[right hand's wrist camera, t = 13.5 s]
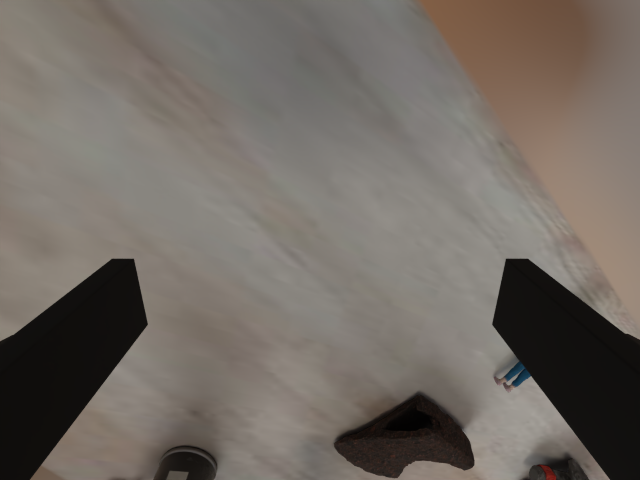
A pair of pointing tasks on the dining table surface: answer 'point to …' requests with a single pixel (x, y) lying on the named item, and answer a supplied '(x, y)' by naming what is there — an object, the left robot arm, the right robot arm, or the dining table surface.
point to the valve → (557, 472)
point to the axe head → (408, 441)
